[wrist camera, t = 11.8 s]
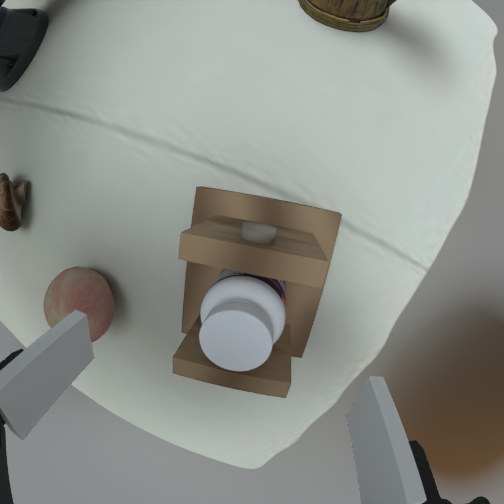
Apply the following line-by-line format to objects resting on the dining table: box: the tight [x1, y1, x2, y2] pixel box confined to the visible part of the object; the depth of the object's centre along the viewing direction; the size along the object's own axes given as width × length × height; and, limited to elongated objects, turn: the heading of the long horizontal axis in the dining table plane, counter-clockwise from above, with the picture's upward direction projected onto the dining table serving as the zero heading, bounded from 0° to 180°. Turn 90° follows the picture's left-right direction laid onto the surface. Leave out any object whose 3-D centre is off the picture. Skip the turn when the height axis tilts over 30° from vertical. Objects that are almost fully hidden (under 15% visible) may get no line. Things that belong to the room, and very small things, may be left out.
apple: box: [44, 267, 114, 343], centre depth 23 cm, size 8×8×8 cm
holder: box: [173, 187, 342, 398], centre depth 20 cm, size 12×14×10 cm
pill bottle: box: [199, 269, 286, 371], centre depth 18 cm, size 5×5×10 cm
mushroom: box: [0, 173, 26, 231], centre depth 24 cm, size 8×8×6 cm
